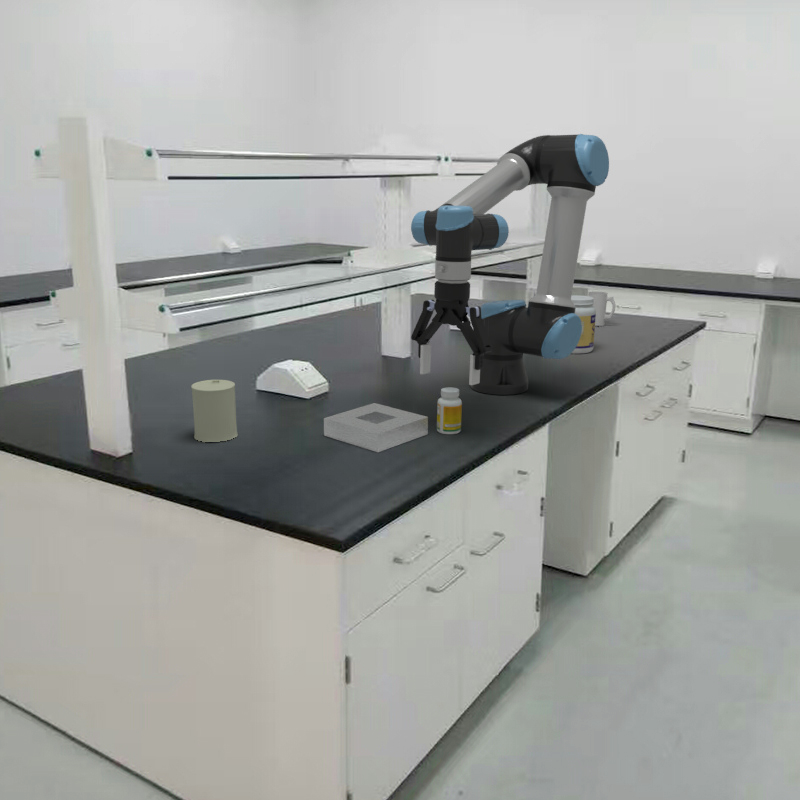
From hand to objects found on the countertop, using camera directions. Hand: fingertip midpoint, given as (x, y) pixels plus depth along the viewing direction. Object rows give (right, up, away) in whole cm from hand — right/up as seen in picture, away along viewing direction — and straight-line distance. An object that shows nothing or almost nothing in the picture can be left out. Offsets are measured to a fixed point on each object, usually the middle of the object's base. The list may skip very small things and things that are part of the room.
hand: (449, 378), depth 181 cm
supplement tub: (+45, +11, +84) cm, 96 cm away
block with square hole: (-16, -12, +1) cm, 20 cm away
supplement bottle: (0, -12, +4) cm, 12 cm away
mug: (+63, +22, +124) cm, 141 cm away
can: (-51, -13, -1) cm, 52 cm away
